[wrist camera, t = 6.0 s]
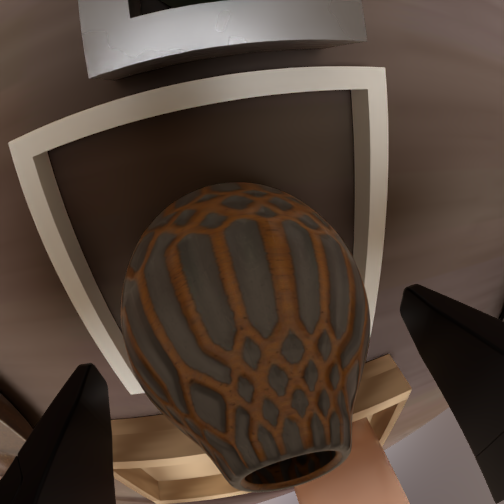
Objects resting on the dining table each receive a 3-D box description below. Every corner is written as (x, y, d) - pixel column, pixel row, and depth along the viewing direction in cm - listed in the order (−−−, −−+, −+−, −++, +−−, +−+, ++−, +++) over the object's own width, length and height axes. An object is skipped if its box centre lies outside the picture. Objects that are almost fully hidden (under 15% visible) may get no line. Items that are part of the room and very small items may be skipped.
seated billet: (369, 393, 19) (426, 500, 11) (357, 432, 22) (397, 517, 14) (276, 424, 18) (317, 547, 10) (281, 456, 21) (312, 550, 14)
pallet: (388, 353, 19) (412, 388, 16) (365, 425, 24) (378, 451, 22) (95, 421, 16) (92, 462, 14) (154, 474, 22) (157, 504, 19)
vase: (145, 319, 13) (147, 520, 6) (128, 162, 10) (20, 379, 2) (296, 310, 15) (377, 478, 7) (321, 163, 11) (512, 313, 4)
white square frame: (367, 67, 9) (385, 67, 8) (360, 321, 16) (370, 336, 15) (23, 135, 8) (8, 142, 7) (131, 376, 15) (130, 394, 14)
